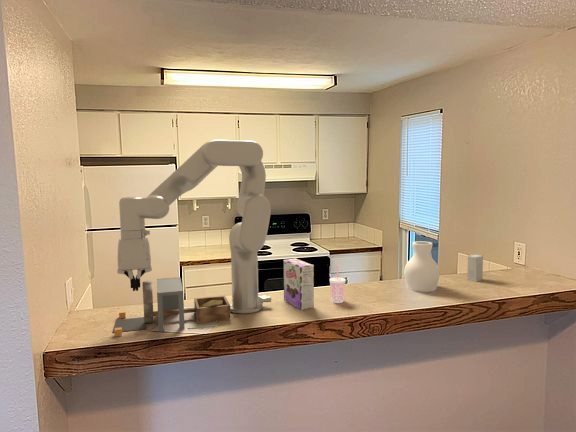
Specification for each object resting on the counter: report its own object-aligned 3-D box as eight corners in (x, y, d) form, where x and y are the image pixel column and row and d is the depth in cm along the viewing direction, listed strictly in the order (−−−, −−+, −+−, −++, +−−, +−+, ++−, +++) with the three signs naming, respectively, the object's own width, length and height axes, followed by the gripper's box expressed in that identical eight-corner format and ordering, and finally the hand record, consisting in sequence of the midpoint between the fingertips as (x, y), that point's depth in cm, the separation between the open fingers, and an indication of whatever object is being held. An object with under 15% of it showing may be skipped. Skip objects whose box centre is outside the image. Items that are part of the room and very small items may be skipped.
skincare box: (473, 280, 198) (474, 254, 196) (482, 282, 194) (483, 255, 193) (466, 282, 194) (467, 255, 192) (475, 284, 190) (476, 257, 189)
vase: (425, 296, 173) (426, 247, 171) (396, 289, 184) (397, 242, 182) (446, 290, 182) (448, 243, 179) (417, 283, 193) (418, 238, 191)
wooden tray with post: (225, 309, 160) (224, 271, 158) (230, 319, 148) (229, 279, 147) (144, 317, 152) (142, 278, 150) (143, 329, 141) (141, 286, 139)
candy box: (283, 301, 169) (282, 259, 168) (296, 298, 172) (296, 257, 170) (300, 311, 157) (300, 266, 155) (314, 308, 160) (314, 264, 158)
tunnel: (211, 307, 162) (210, 274, 161) (219, 325, 143) (218, 288, 142) (116, 316, 153) (114, 281, 152) (111, 337, 134) (108, 297, 133)
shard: (219, 311, 157) (217, 307, 158) (235, 303, 154) (233, 299, 155) (198, 312, 148) (197, 306, 149) (215, 303, 145) (213, 298, 146)
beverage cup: (327, 304, 165) (327, 267, 163) (331, 299, 171) (331, 264, 169) (344, 305, 163) (344, 268, 162) (346, 300, 169) (346, 265, 167)
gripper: (157, 232, 148) (159, 285, 150) (109, 234, 144) (112, 288, 146) (157, 235, 141) (159, 291, 143) (107, 237, 137) (110, 295, 139)
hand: (135, 289), depth 144 cm, fingers closed
